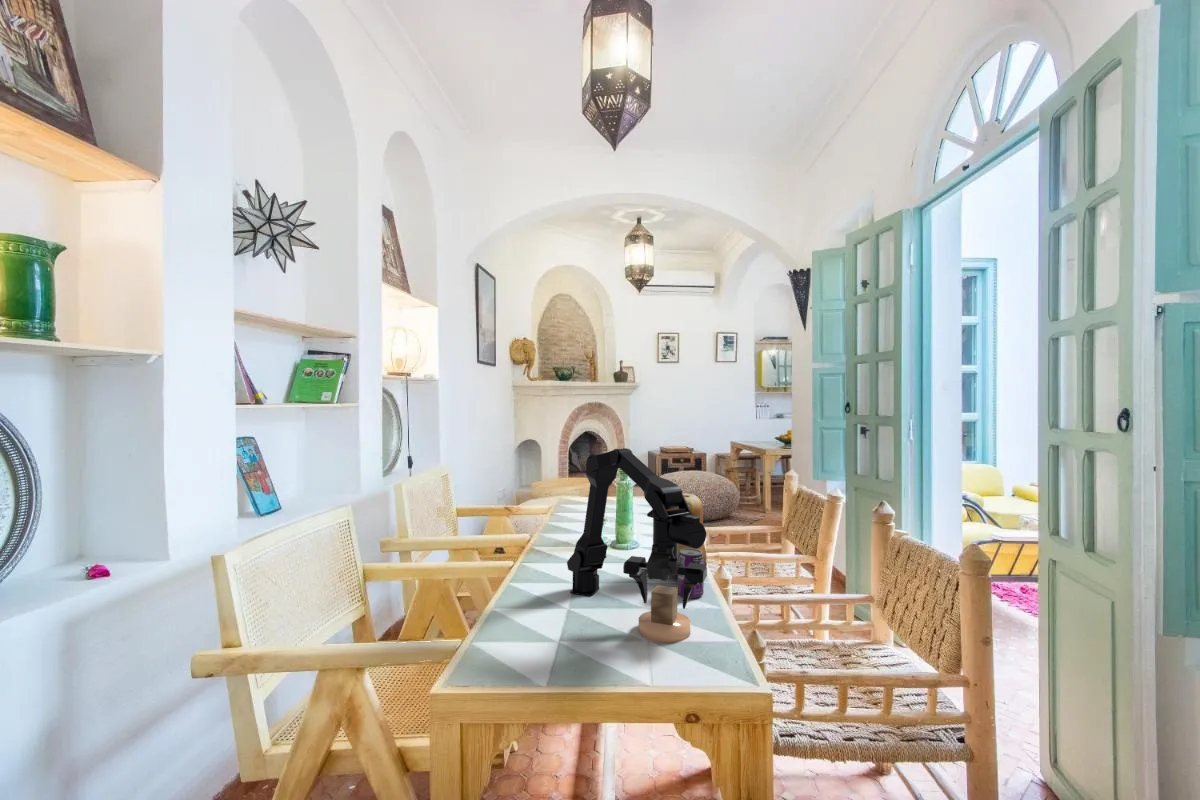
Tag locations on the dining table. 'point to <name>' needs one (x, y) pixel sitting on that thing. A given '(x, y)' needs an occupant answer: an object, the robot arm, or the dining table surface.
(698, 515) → the butternut squash
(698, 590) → the beverage can
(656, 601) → the walnut block
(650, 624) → the terracotta disc
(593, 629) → the dining table surface
